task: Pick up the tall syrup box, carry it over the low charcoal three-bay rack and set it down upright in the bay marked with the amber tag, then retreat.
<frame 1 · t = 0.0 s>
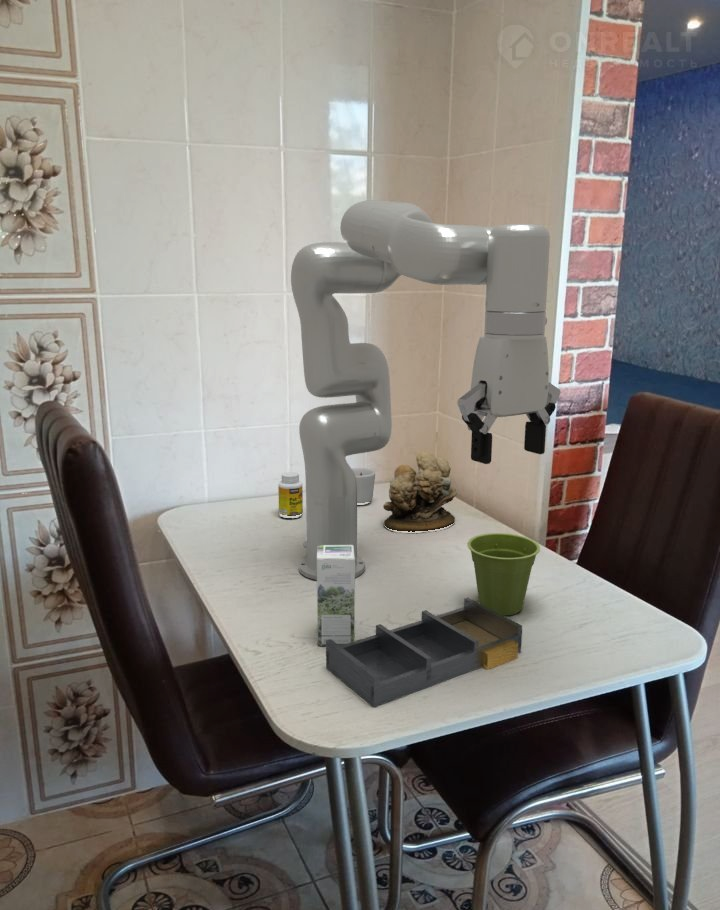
hand: (508, 456, 99), 31 cm above the table, tool pointing down, fingers open, 9 cm apart
rack: (425, 660, 109), on the table
brown lumpy piece: (421, 525, 169), on the table
cup: (353, 503, 185), on the table
syrup box: (336, 639, 116), on the table
plant pot: (500, 608, 126), on the table
supplement bottle: (291, 517, 174), on the table
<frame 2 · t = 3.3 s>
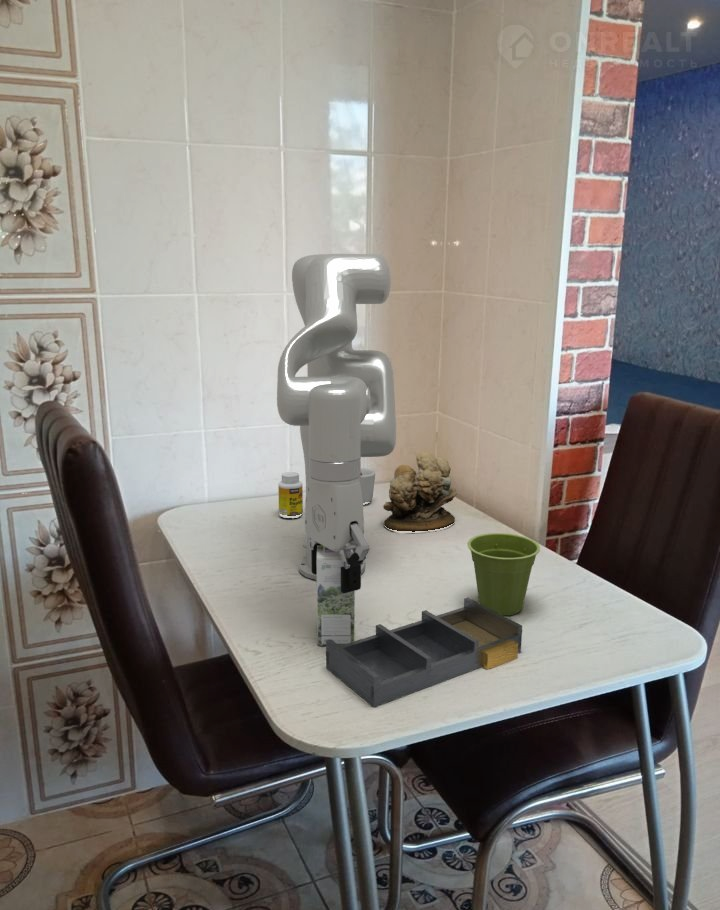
hand: (335, 580, 113), 10 cm above the table, tool pointing down, fingers closed on syrup box, 7 cm apart
syrup box: (336, 639, 116), on the table, touching gripper
everything else where it was.
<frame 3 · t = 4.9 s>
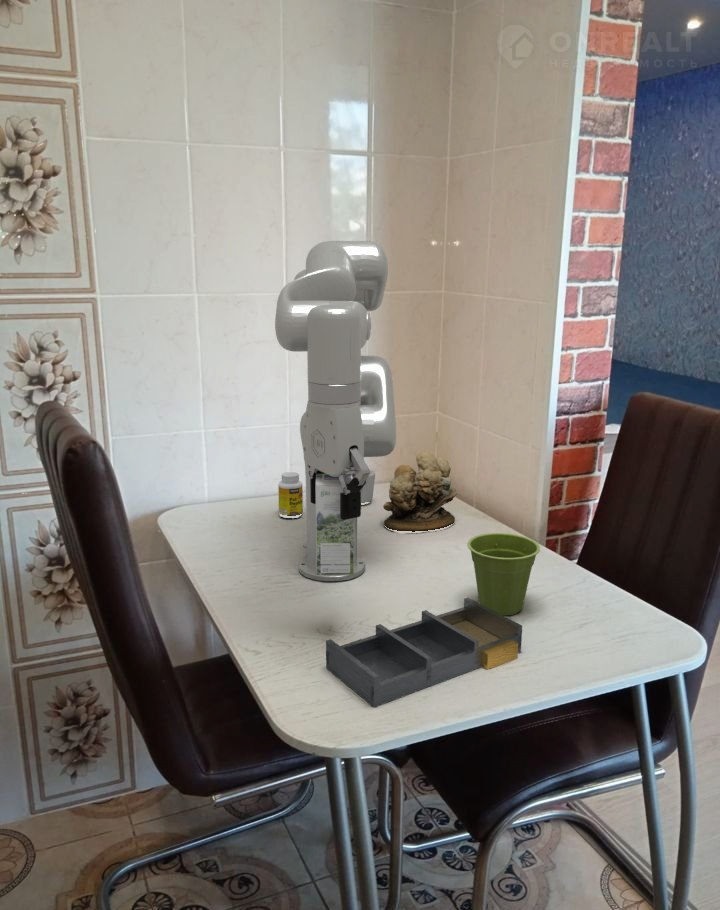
hand: (335, 509, 111), 21 cm above the table, tool pointing down, fingers closed on syrup box, 7 cm apart
syrup box: (335, 569, 114), point 11 cm above the table, touching gripper
everything else where it was.
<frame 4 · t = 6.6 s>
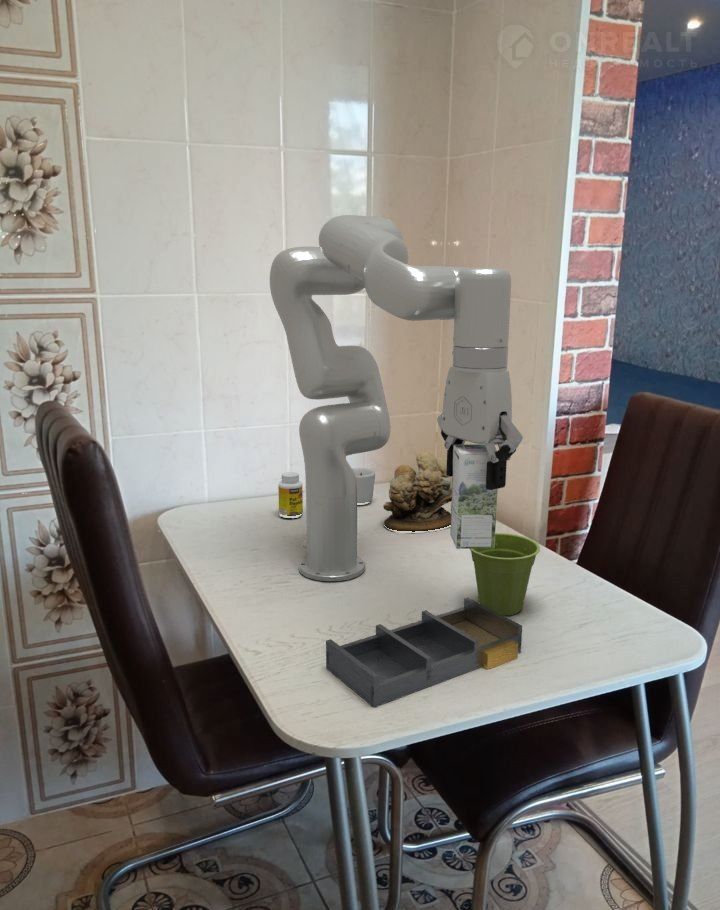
hand: (475, 480, 108), 26 cm above the table, tool pointing down, fingers closed on syrup box, 7 cm apart
syrup box: (472, 544, 110), point 16 cm above the table, touching gripper
everything else where it was.
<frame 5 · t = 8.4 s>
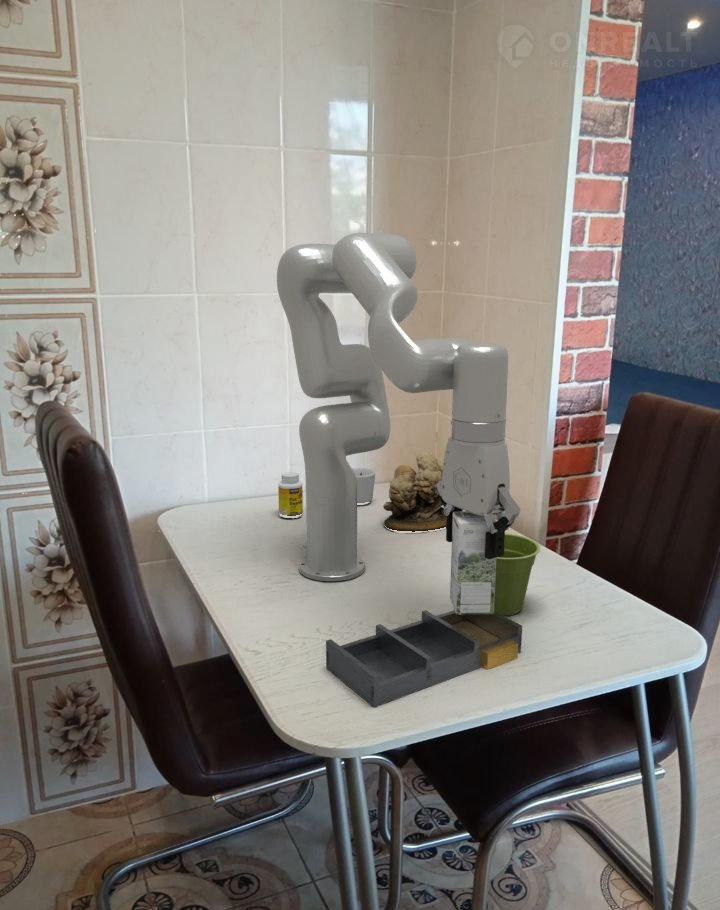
hand: (474, 547, 110), 16 cm above the table, tool pointing down, fingers closed on syrup box, 7 cm apart
syrup box: (471, 608, 112), point 6 cm above the table, touching gripper
everything else where it was.
when the fingers open (11 cm above the table, at t = 9.9 s): syrup box stays where it is, resting on rack.
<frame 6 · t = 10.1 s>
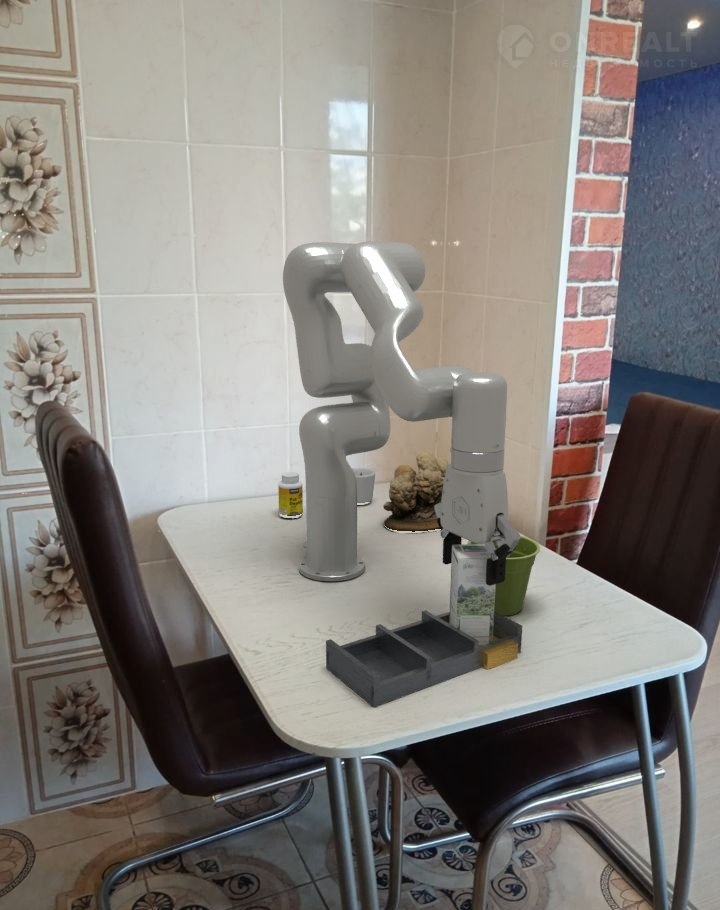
hand: (472, 572, 111), 12 cm above the table, tool pointing down, fingers open, 9 cm apart
syrup box: (470, 640, 113), point 1 cm above the table, touching rack
everything else where it was.
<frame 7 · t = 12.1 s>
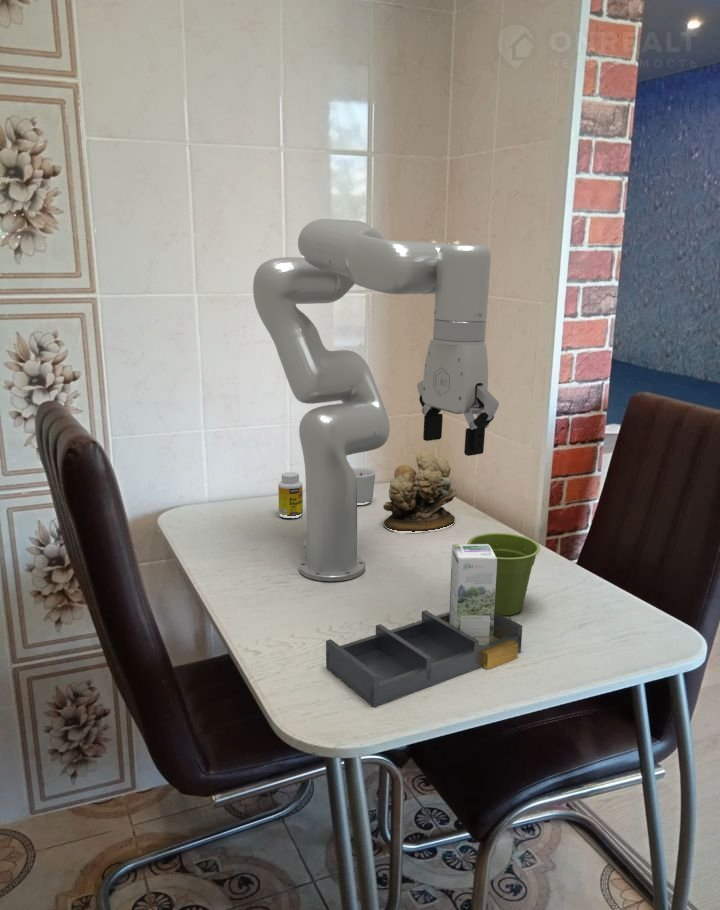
hand: (452, 446, 113), 29 cm above the table, tool pointing down, fingers open, 9 cm apart
nothing on the table moved.
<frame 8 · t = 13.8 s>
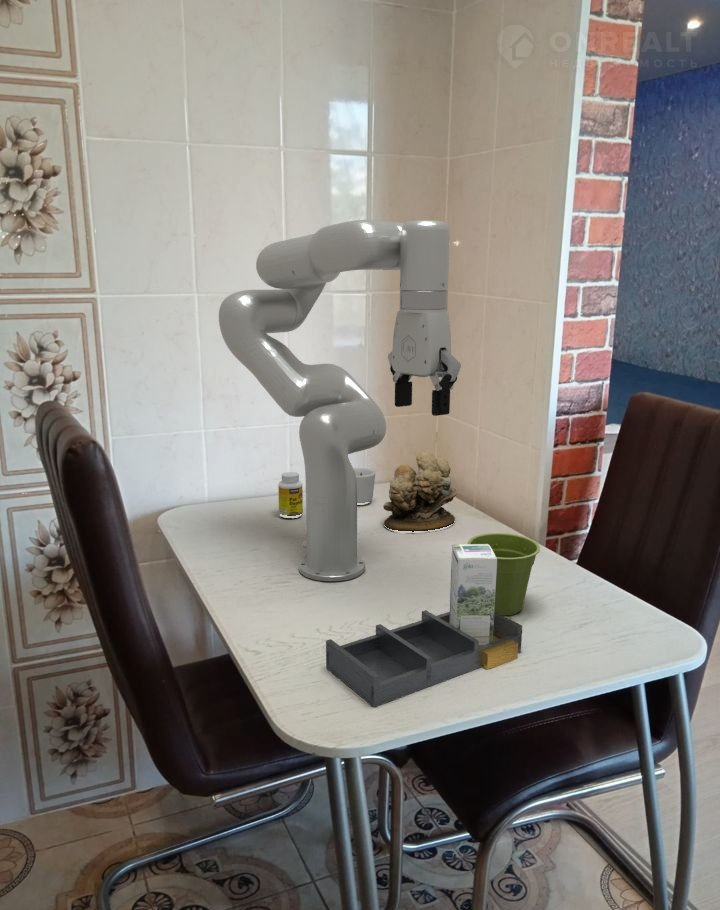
hand: (421, 410, 121), 33 cm above the table, tool pointing down, fingers open, 9 cm apart
nothing on the table moved.
at the end: syrup box 0.1 cm from the target spot on the rack, point 0.7 cm above the rack's base; syrup box tilted 0°; the gripper is holding nothing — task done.
